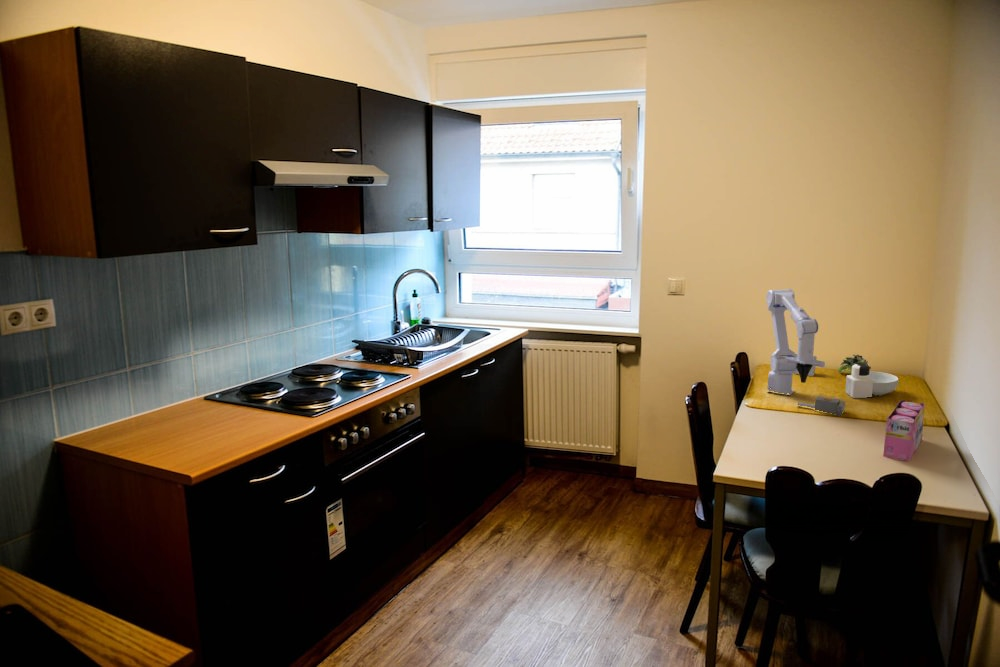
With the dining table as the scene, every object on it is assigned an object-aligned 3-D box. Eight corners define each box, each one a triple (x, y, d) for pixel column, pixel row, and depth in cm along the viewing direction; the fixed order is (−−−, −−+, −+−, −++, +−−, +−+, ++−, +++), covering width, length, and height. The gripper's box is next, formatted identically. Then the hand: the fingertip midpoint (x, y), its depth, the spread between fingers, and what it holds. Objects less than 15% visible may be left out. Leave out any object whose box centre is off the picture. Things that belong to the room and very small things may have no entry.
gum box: (897, 434, 255) (901, 398, 252) (922, 439, 251) (927, 402, 247) (882, 456, 238) (886, 417, 234) (909, 461, 233) (913, 422, 229)
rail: (795, 409, 284) (796, 399, 283) (800, 404, 289) (800, 394, 288) (840, 416, 274) (841, 406, 273) (844, 411, 280) (845, 401, 279)
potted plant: (855, 384, 328) (874, 364, 324) (855, 386, 319) (874, 366, 315) (834, 368, 332) (852, 348, 328) (833, 370, 322) (852, 349, 318)
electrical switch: (792, 373, 329) (794, 354, 327) (795, 372, 333) (797, 352, 331) (813, 377, 323) (815, 356, 322) (816, 375, 327) (818, 355, 326)
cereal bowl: (873, 384, 310) (874, 368, 308) (906, 395, 295) (908, 379, 293) (842, 389, 304) (844, 374, 303) (875, 401, 289) (876, 384, 287)
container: (864, 392, 300) (866, 362, 297) (872, 398, 293) (874, 367, 290) (845, 392, 301) (847, 362, 298) (852, 398, 293) (855, 368, 290)
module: (814, 411, 281) (815, 397, 279) (817, 407, 285) (818, 394, 283) (836, 415, 276) (837, 401, 275) (839, 411, 280) (840, 397, 278)
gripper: (783, 349, 283) (781, 381, 286) (822, 353, 275) (820, 387, 278) (788, 345, 288) (786, 377, 292) (827, 349, 280) (824, 382, 283)
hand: (803, 382), depth 285 cm, fingers closed
